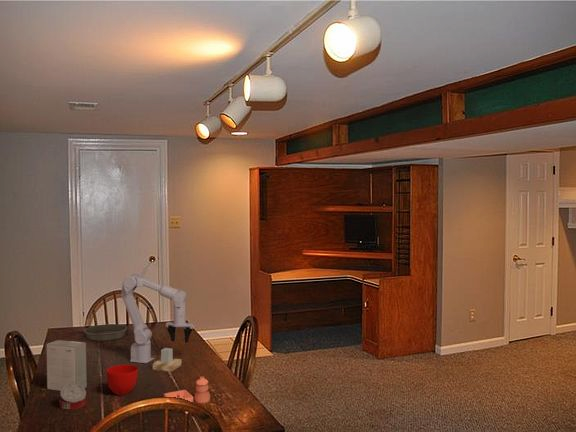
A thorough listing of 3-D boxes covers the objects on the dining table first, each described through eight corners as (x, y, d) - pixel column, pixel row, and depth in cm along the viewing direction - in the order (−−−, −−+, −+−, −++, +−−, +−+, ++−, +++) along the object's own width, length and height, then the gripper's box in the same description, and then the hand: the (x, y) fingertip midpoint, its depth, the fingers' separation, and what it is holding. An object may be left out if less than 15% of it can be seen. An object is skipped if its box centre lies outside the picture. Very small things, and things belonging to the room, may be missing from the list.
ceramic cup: (121, 382, 249) (121, 360, 248) (144, 391, 238) (144, 368, 238) (95, 390, 239) (95, 367, 238) (118, 400, 228) (117, 376, 228)
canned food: (83, 412, 228) (95, 390, 229) (74, 419, 218) (87, 396, 218) (59, 399, 228) (71, 377, 229) (49, 406, 218) (61, 383, 219)
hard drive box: (87, 387, 243) (86, 342, 242) (75, 393, 236) (74, 347, 235) (58, 383, 248) (58, 339, 247) (46, 389, 241) (45, 343, 240)
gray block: (161, 362, 269) (161, 350, 269) (165, 359, 273) (165, 347, 273) (168, 363, 268) (168, 350, 268) (172, 360, 272) (172, 348, 272)
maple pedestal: (152, 369, 268) (152, 363, 268) (163, 363, 277) (163, 357, 277) (171, 371, 265) (171, 365, 265) (181, 365, 274) (181, 359, 274)
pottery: (171, 411, 217) (171, 386, 216) (163, 403, 225) (163, 379, 225) (214, 403, 226) (214, 379, 226) (205, 395, 234) (205, 372, 234)
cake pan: (116, 329, 348) (116, 321, 348) (134, 336, 330) (134, 329, 330) (77, 335, 331) (77, 328, 331) (94, 344, 313) (94, 336, 313)
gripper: (162, 315, 279) (163, 342, 279) (188, 317, 274) (189, 344, 275) (169, 312, 285) (170, 339, 286) (195, 314, 281) (195, 341, 281)
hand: (179, 341), depth 281 cm, fingers open, 7 cm apart
